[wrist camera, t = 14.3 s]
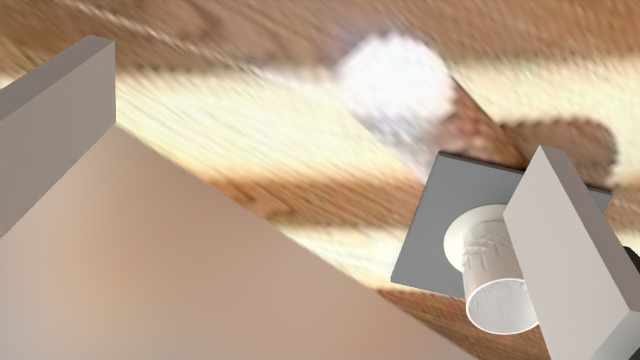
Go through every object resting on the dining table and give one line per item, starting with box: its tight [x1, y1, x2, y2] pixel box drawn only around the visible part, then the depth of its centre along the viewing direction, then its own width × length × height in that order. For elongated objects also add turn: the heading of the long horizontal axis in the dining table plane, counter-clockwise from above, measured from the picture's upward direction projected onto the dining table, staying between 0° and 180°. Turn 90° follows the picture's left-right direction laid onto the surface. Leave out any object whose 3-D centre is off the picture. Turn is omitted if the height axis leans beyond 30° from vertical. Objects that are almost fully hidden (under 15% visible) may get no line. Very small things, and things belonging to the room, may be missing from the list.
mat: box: [391, 152, 613, 299], centre depth 59 cm, size 19×19×1 cm
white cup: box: [461, 221, 539, 334], centre depth 54 cm, size 8×8×10 cm
